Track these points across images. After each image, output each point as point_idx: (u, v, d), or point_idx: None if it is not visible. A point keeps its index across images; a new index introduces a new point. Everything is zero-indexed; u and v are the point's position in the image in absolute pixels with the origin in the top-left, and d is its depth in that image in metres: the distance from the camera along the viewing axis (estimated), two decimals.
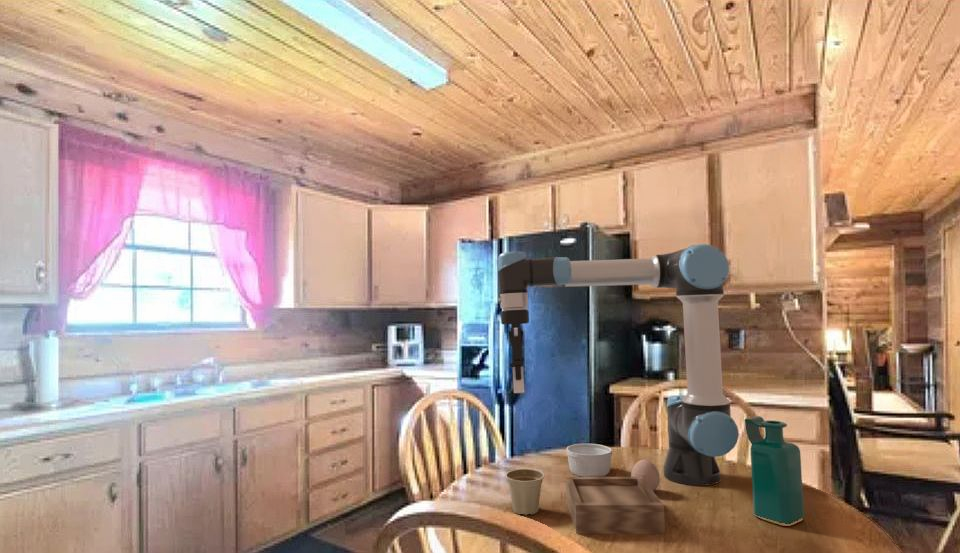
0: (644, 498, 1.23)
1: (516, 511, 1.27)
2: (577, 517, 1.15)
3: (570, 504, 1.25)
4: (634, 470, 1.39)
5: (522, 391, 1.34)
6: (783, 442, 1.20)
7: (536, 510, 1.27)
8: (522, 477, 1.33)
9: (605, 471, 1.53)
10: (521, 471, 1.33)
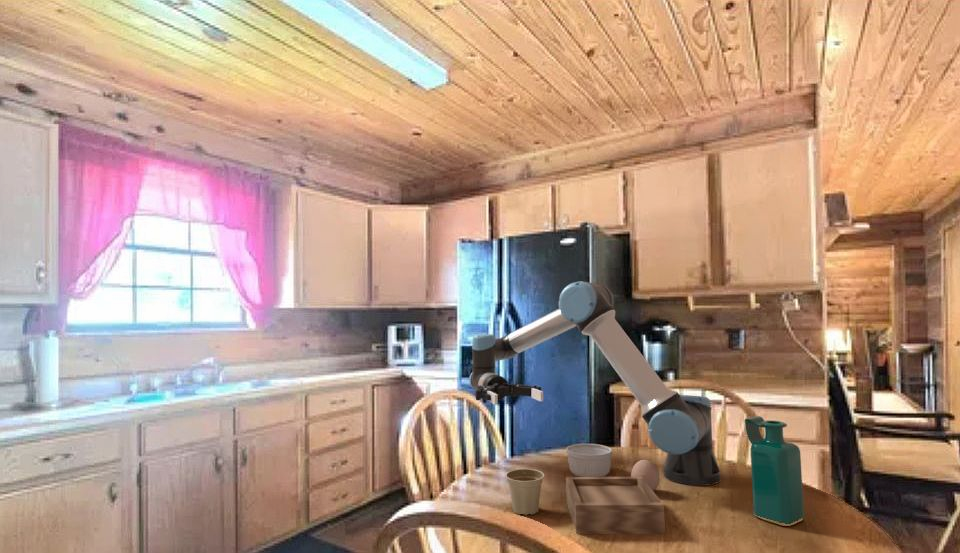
0: (644, 498, 1.23)
1: (516, 511, 1.27)
2: (577, 517, 1.15)
3: (570, 504, 1.25)
4: (634, 470, 1.39)
5: (494, 396, 1.44)
6: (783, 442, 1.20)
7: (536, 510, 1.27)
8: (522, 477, 1.33)
9: (605, 471, 1.53)
10: (521, 471, 1.33)
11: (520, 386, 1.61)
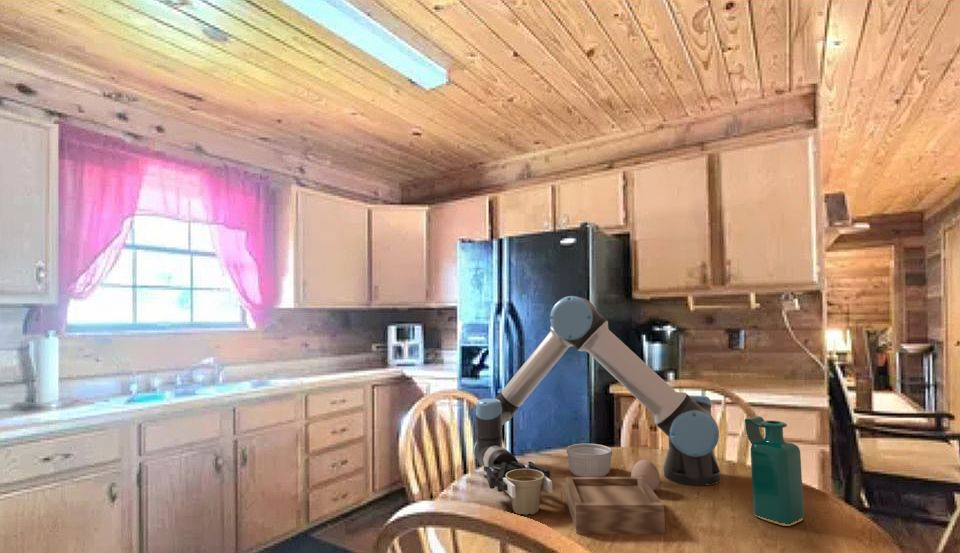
0: (644, 498, 1.23)
1: (516, 511, 1.27)
2: (577, 517, 1.15)
3: (570, 504, 1.25)
4: (634, 470, 1.39)
5: (511, 487, 1.24)
6: (783, 442, 1.20)
7: (536, 510, 1.27)
8: (522, 477, 1.33)
9: (605, 471, 1.53)
10: (521, 471, 1.33)
11: (530, 466, 1.40)
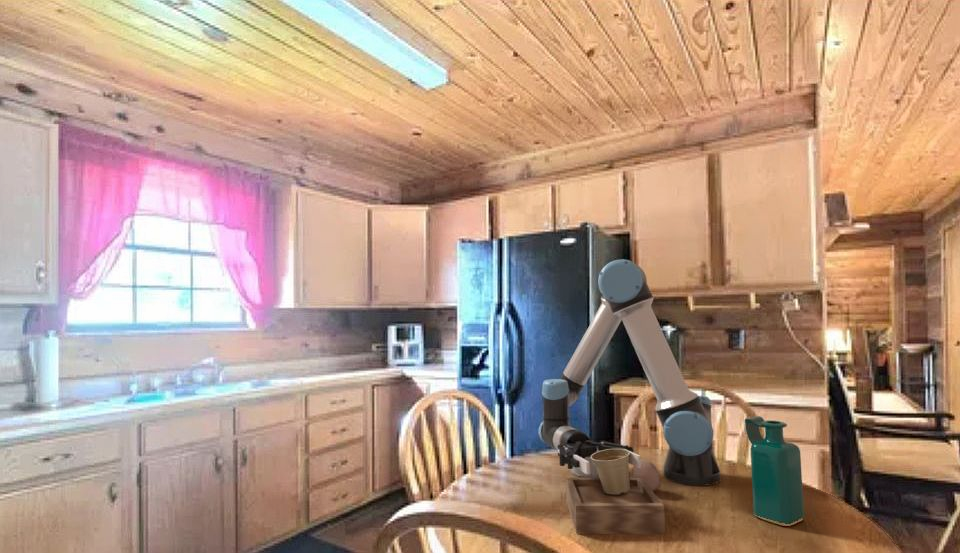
0: (644, 499, 1.23)
1: (608, 492, 1.25)
2: (577, 518, 1.15)
3: (570, 505, 1.25)
4: (634, 470, 1.39)
5: (585, 464, 1.21)
6: (783, 442, 1.20)
7: (628, 488, 1.26)
8: (606, 457, 1.32)
9: None
10: (604, 452, 1.32)
11: (606, 444, 1.38)
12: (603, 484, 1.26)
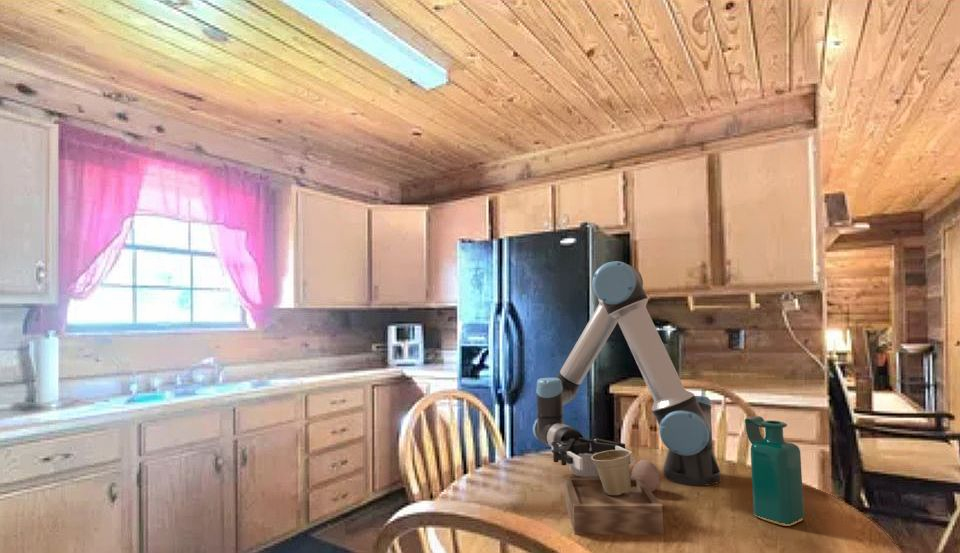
0: (642, 499, 1.22)
1: (609, 493, 1.25)
2: (575, 518, 1.15)
3: None
4: (634, 470, 1.39)
5: (578, 460, 1.24)
6: (783, 442, 1.20)
7: (629, 488, 1.25)
8: (606, 459, 1.31)
9: None
10: (604, 454, 1.32)
11: (598, 441, 1.41)
12: (604, 485, 1.26)
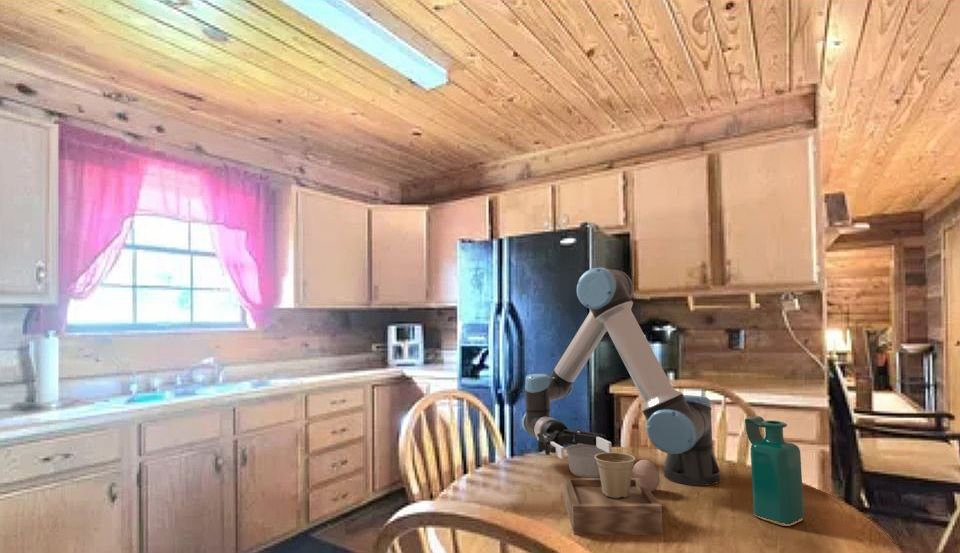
0: (642, 499, 1.22)
1: (608, 494, 1.24)
2: (574, 518, 1.15)
3: (568, 505, 1.25)
4: (634, 470, 1.39)
5: (560, 449, 1.34)
6: (783, 442, 1.20)
7: (628, 493, 1.24)
8: (609, 460, 1.30)
9: None
10: (608, 455, 1.31)
11: (582, 433, 1.50)
12: (603, 486, 1.25)
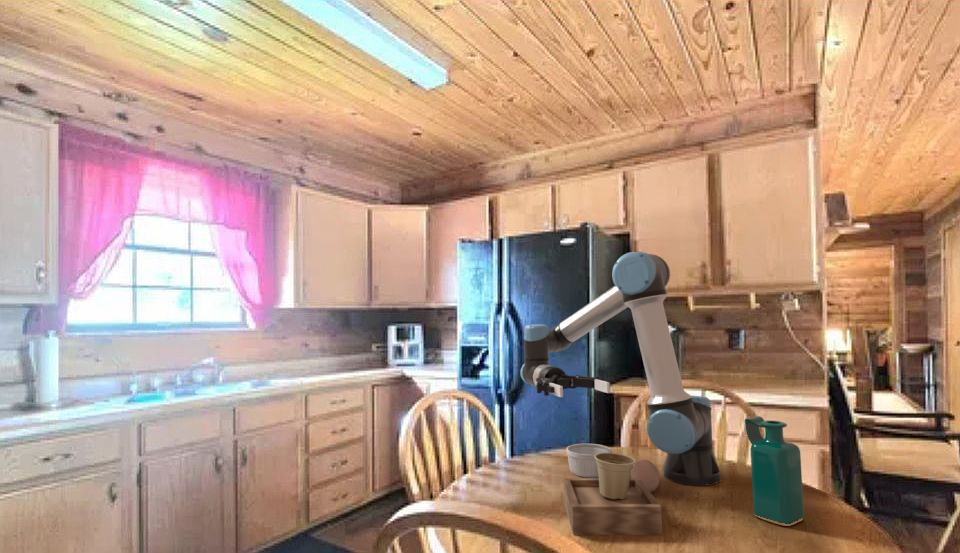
0: (641, 500, 1.22)
1: (605, 495, 1.23)
2: (574, 519, 1.15)
3: (567, 505, 1.25)
4: (634, 470, 1.39)
5: (559, 388, 1.35)
6: (783, 442, 1.20)
7: (625, 495, 1.23)
8: (609, 461, 1.29)
9: None
10: (608, 455, 1.30)
11: (580, 378, 1.51)
12: (601, 486, 1.24)
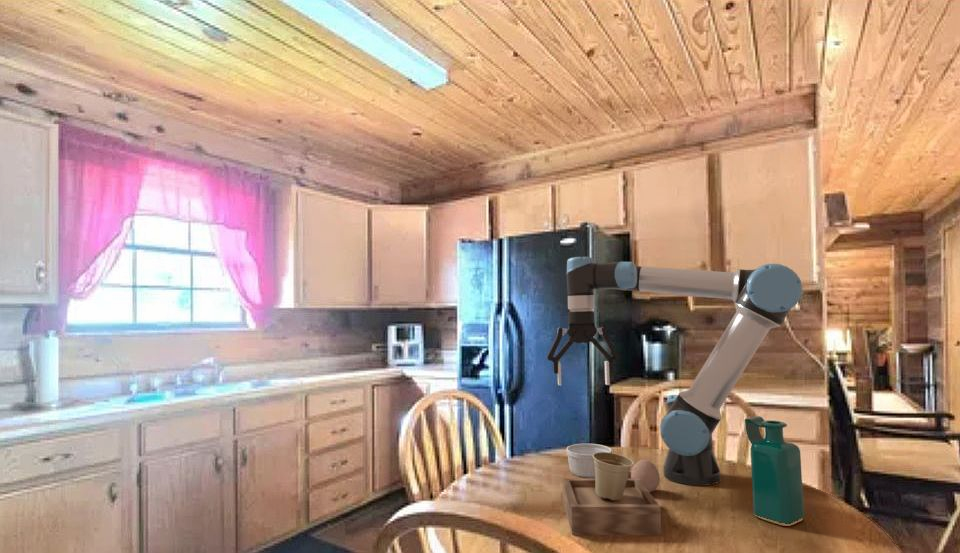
0: (640, 500, 1.22)
1: (597, 492, 1.24)
2: (573, 519, 1.15)
3: None
4: (634, 470, 1.39)
5: (558, 384, 1.51)
6: (783, 442, 1.20)
7: (617, 497, 1.22)
8: (614, 461, 1.28)
9: None
10: (614, 456, 1.28)
11: (603, 336, 1.51)
12: (595, 483, 1.25)
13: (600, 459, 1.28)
